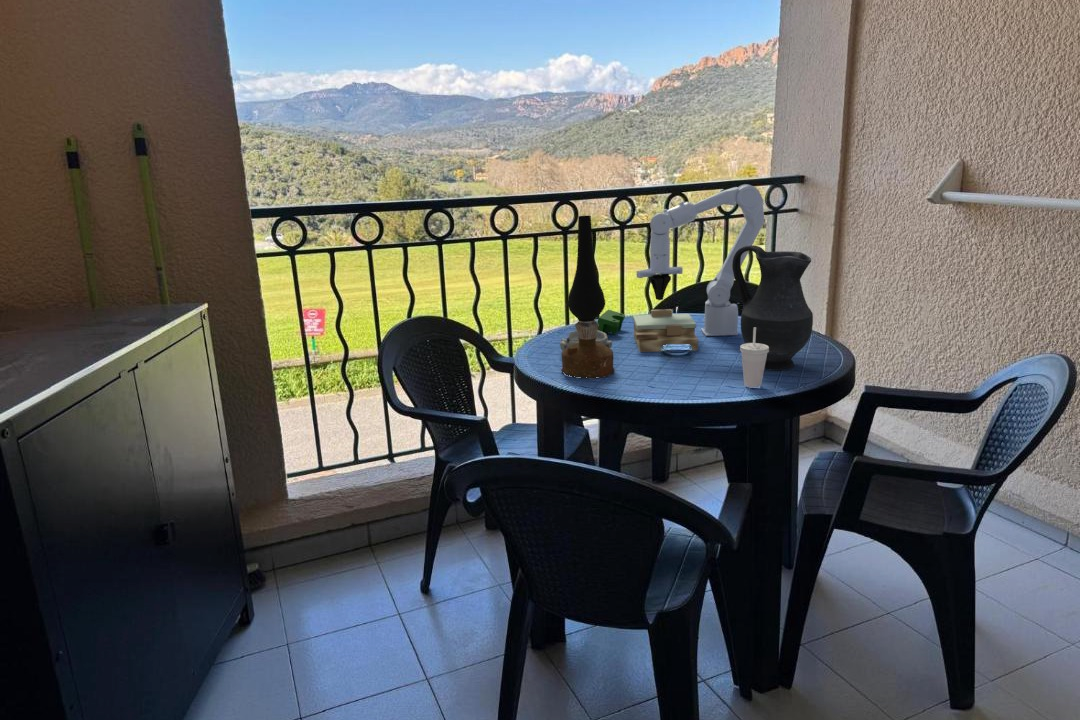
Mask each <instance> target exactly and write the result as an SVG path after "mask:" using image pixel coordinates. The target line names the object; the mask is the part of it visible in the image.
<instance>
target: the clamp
mask: <svg viewBox="0 0 1080 720" xmlns="http://www.w3.org/2000/svg"><path fill="white" fill-rule="evenodd" d="M597 318H598V319H597V321H596V322H597V323H598V324H599V326H598V329H597V330H598V331H602V332H604V333H605V334H606V333H608V334H612V335H617V334H618V331H622V327H623V326H622V325H623V323H624V320H625V318H626V315H625V314H624V313H621V312H618V311H614V310H612V309H607V310H605V312H603V313H601V314H600V315H599V316H598V317H597Z"/></svg>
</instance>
